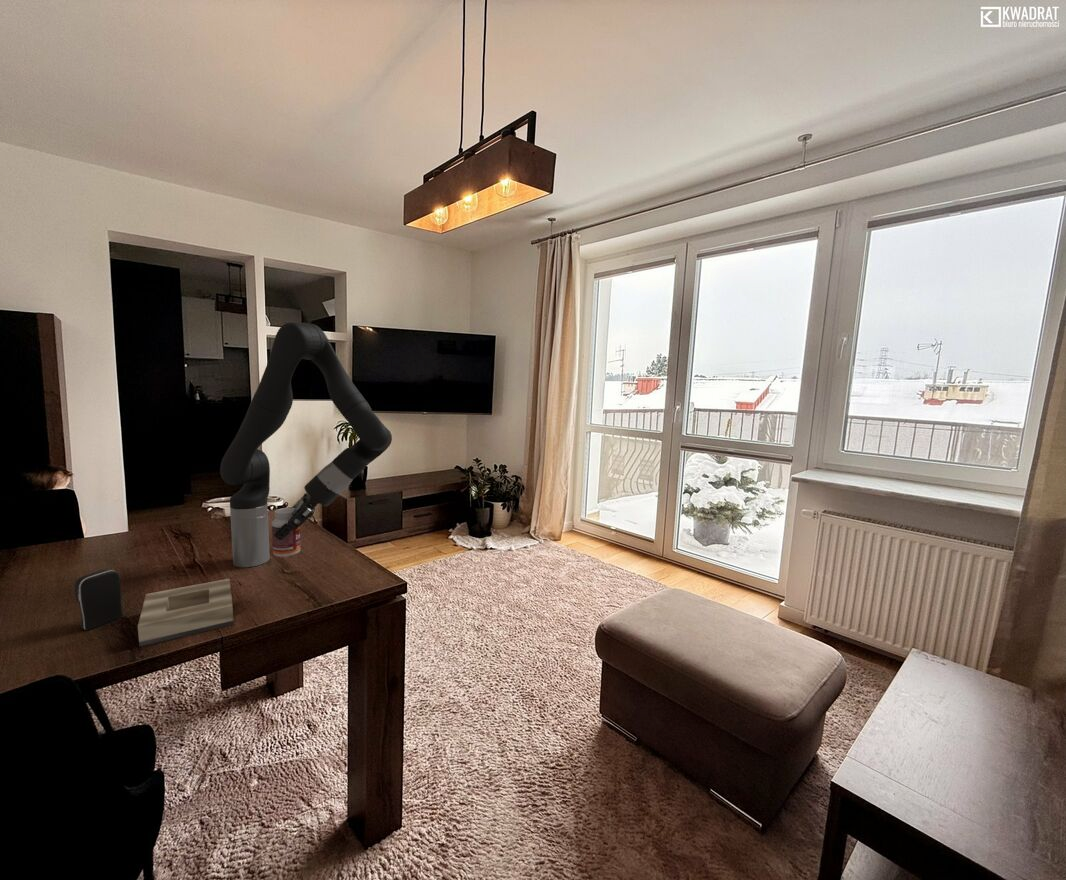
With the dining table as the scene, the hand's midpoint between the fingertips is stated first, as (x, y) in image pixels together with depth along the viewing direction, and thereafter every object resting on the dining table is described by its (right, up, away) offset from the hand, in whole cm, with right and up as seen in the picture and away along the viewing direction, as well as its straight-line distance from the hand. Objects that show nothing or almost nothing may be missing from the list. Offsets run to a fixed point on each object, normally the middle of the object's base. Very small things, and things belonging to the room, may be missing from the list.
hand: (278, 532), depth 113 cm
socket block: (-15, -17, -9) cm, 25 cm away
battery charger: (-33, -17, -12) cm, 39 cm away
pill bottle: (+1, -5, +1) cm, 6 cm away
